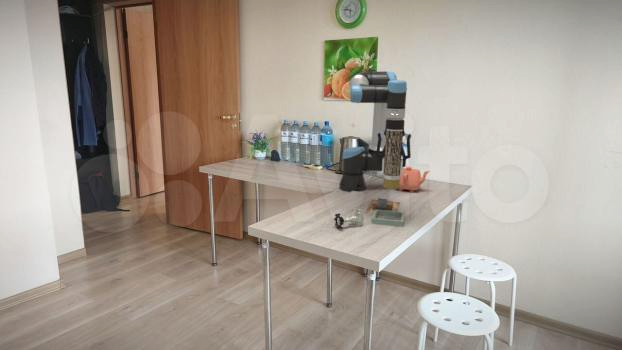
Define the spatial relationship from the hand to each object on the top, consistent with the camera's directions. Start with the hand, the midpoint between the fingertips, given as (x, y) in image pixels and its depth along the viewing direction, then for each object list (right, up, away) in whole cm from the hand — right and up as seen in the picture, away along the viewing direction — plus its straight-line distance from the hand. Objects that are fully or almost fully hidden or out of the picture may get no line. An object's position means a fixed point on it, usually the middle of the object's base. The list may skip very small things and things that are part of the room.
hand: (392, 173), depth 169 cm
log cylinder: (0, -6, +1) cm, 6 cm away
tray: (-1, -21, +4) cm, 21 cm away
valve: (-18, -22, -2) cm, 29 cm away
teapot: (+21, -9, +57) cm, 62 cm away
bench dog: (-2, -18, +15) cm, 23 cm away
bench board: (0, -17, +22) cm, 28 cm away
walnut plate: (0, -16, +20) cm, 26 cm away
